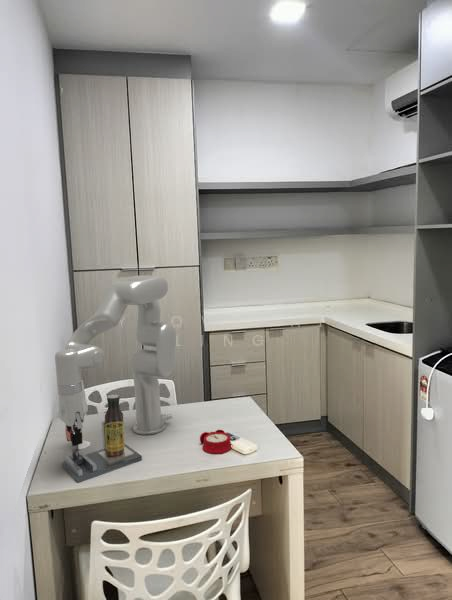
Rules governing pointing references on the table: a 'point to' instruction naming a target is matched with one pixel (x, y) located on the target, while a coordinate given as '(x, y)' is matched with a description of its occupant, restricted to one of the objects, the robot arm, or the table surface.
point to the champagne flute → (85, 410)
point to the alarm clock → (215, 442)
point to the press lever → (74, 448)
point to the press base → (99, 462)
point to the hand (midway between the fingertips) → (74, 441)
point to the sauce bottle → (114, 427)
